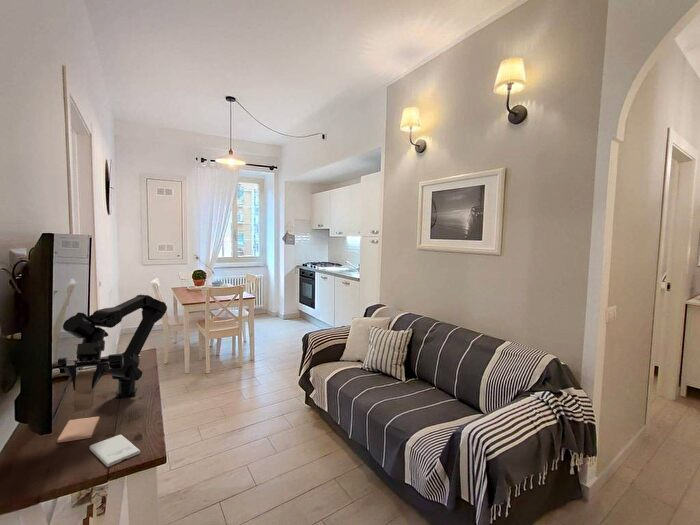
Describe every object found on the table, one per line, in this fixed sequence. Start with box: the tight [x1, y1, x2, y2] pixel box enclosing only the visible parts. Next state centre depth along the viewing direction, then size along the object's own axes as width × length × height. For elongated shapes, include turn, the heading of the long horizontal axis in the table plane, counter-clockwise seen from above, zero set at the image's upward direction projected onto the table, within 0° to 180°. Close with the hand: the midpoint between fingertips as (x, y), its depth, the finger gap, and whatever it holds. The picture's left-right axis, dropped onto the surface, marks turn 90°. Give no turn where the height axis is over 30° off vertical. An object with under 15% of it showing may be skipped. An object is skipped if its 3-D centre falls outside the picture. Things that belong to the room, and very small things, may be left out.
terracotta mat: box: [56, 416, 100, 444], centre depth 107 cm, size 12×8×1 cm, turn 26°
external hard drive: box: [89, 434, 141, 468], centre depth 98 cm, size 2×8×12 cm
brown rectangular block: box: [73, 370, 95, 413], centre depth 106 cm, size 4×4×11 cm
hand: (83, 389), depth 105 cm, fingers closed on brown rectangular block, 4 cm apart
